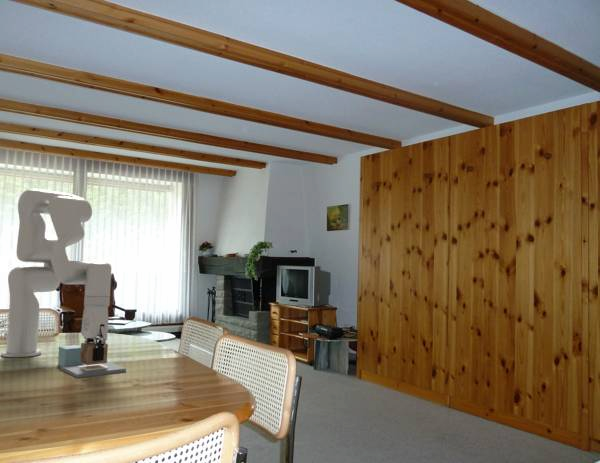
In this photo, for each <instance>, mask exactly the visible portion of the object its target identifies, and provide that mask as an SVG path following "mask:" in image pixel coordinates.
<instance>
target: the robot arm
mask: <svg viewBox="0 0 600 463" xmlns="http://www.w3.org/2000/svg"><path fill="white" fill-rule="evenodd" d="M17 212H18V218H19V221H18V222H19V224H18V225H19V227H18V233H17V242H16V257H17V259H18V260H19V261H21V262H22V263H35V264H36V263H40V264H41V263H42V264H43V265H42V266H41V265H39V266H38V265H21V266H16V267H13V269H11V270H10V271H9V273H8V275H7V276H8V277H7V282H8V289H9V290H8V291H9V306H8V307H9V309H8V311H9V312H8V325H7V340H6V349H5V350H2V351H1V352H0V353H1V356H2V357H5V358H28V357H35V356H40V355H41V354H42V350H41V349H40V348H37V347H38V335H39V333H38V332H39V316H40V315H39V314H40V303H39V300H38V299H37V297H36V295H35V293H49V292H54V291H56V290H57V289H58V288H59V287H60V284H62V285H63V284H64V285H84V297H83V307H84V308H83V313H82V319H81V328H80V334H81V336H82V337H83V338H84V342H94V345H95V348H93V361H101V360H103V359H104V347H105V343H106V342H107V340H108V332H109V307H110V304H111V301H110V300H111V299H110V298H111V282H112V265H111V264H110V263H108V262H97V261H90V260H88V261H87V260H70V259H69V257H68V254H67V250H66V247H70V246H72V245H75V244H77V243H79V242H80V241H82V240H83V238H84V237H85V230H84V227H83V224H82V223H87V222H89V221H90V220H91V217H92V215H93V209H92V206H91V204H90V202H89V201H88V200H86V199H85V198H83V197H80V196H77V195H74V194H70V193H66V192H59V191H53V190H47V189H39V188H31V189H26V190H25V191H23V192H22V194H20V196H19V198H18V203H17ZM41 214H45V215H49V216H50V219H51V220H50V221H51V222H52V226H53V228H54V231H55V234H56V237H57V238H55V237H49V236H46V229H47V228H46V227H47V226H46V222H45V220H44V218H43V216H42V215H41ZM97 341H99V342H97Z"/></svg>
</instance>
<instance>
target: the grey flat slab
mask: <svg viewBox="0 0 600 463" xmlns="http://www.w3.org/2000/svg"><path fill="white" fill-rule="evenodd" d="M59 369H60V371H62V372H64V373H66V374H69V375H71V376H72V377H75V378H77V379H79V378H87V377H94V376H95V377H96V376H102V375H111V374H118V373H126V372H127V368H126V367H123V366H121V365H118V364H115V363H113V362H111V361H108V360H107V363H103V364H94V365H86V364H77V365H68V366H60V368H59Z"/></svg>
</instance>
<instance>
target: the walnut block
mask: <svg viewBox="0 0 600 463" xmlns="http://www.w3.org/2000/svg"><path fill="white" fill-rule="evenodd" d="M97 342H99V340H97ZM80 346H81V356H80V362H81V363H84V364H86V365H94V364H103V363H107V361H108V348H109V343H106V342H105V347H104V359H103V360H101V361H93V348H95V345H94V342H85V341H84V342H81V343H80Z"/></svg>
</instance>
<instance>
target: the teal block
mask: <svg viewBox="0 0 600 463" xmlns="http://www.w3.org/2000/svg"><path fill="white" fill-rule="evenodd" d="M80 356H81V345H79V344H74V345H72V344H71V345H63V346H62V345H61V346H58V356H57V357H58V358H57V359H58V360H57V361H58V363H57V365H58V366H59V367H61V366H68V365H77V364H84V363H81V362H80Z"/></svg>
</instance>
